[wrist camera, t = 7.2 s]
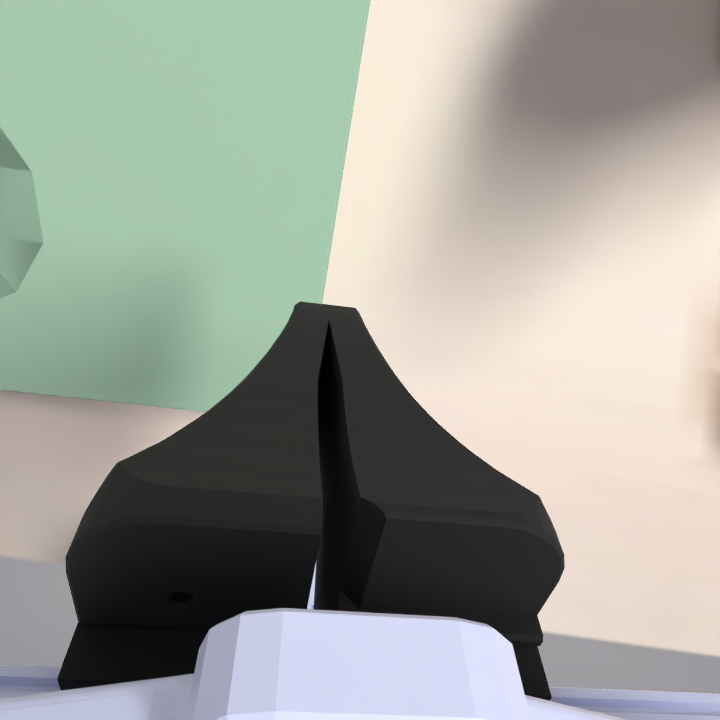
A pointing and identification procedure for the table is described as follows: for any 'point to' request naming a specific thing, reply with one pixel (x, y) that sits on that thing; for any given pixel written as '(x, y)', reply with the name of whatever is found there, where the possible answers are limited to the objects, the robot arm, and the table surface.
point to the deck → (166, 187)
